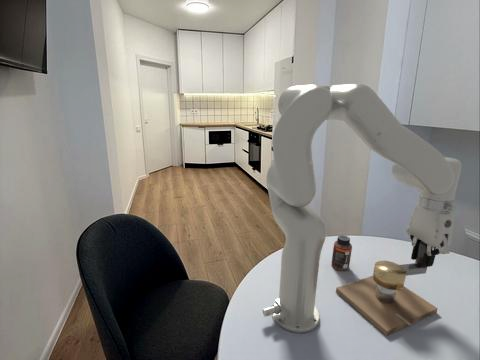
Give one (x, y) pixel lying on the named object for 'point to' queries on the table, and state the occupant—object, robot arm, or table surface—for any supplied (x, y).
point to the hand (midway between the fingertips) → (421, 261)
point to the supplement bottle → (341, 253)
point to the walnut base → (386, 305)
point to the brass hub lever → (399, 270)
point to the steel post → (385, 294)
